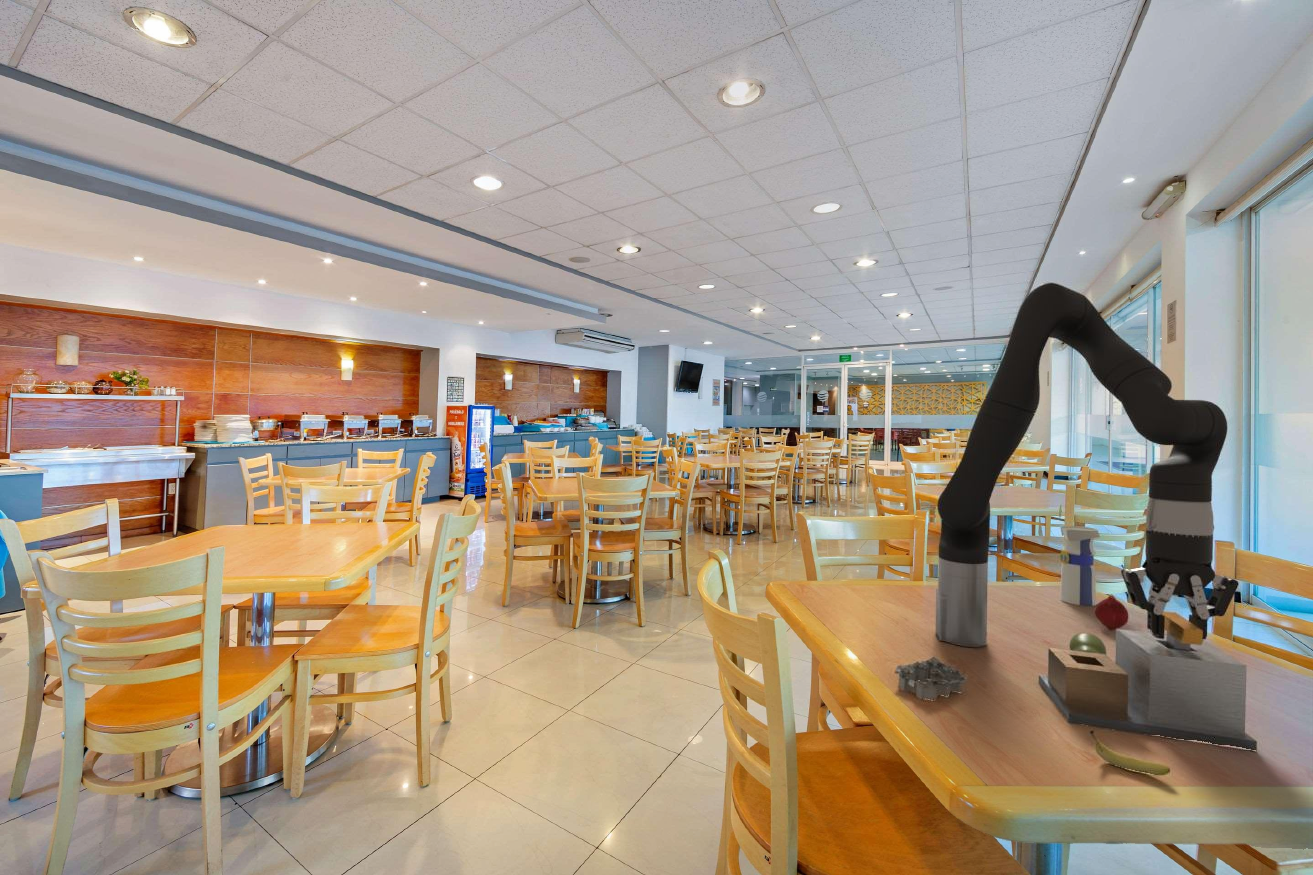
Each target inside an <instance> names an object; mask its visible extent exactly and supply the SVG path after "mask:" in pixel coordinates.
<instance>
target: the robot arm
mask: <svg viewBox="0 0 1313 875" xmlns="http://www.w3.org/2000/svg"><path fill="white" fill-rule="evenodd" d="M1049 338H1052V339H1056V340H1058V341H1059V342H1062V343H1064V344H1065V345H1067V346H1069V347H1071V348H1072V349H1073V350H1075V351H1076V352H1077V353H1079V354H1080V356H1082V357H1083V358H1084V359H1085V361H1086V363H1087V364H1088V368H1090V370H1091V373H1092V374H1093V376H1094V377H1095V378H1096V379H1097V380H1098V382H1099V383H1100V384H1101V385H1102V386H1103V387H1104V388H1105V389H1106V390H1108V392H1109V393H1110V394H1112V395H1113V397H1114V398H1116V399H1117V400H1118V401H1119V402H1120V403H1121V404H1122V407H1123V409H1124V411H1125V413H1126V415H1127V417H1128V419H1129V420H1130V422H1131V424H1132V426H1133V427H1134V429H1135V431H1136V432H1137V433H1138V434H1139V435H1140V436H1141V437H1143V438H1144V439H1146V440H1147V441H1149V442H1151V443H1153V444H1156V445H1160V446H1161V445H1162V446H1172V448H1171V450H1170V454H1169V456H1168V458H1166V459H1164V460H1161V461H1157V462H1155V463H1153V464H1152V465H1151V466H1150V469H1149V473H1148V474H1149V475H1148V497H1149V498H1148V502H1147V506H1146V513H1145V514H1146V515H1145V516H1146V517H1145V551H1144V552H1145V561H1144V562H1143V564H1142V565H1141V567H1138V568H1133V569H1129V568H1122V569H1121V570H1120V573H1121V576H1122V579H1123V582H1124V584H1125V586H1126V590H1127V592H1128V595H1129V597H1130V600H1131V602H1132V604H1134V606H1137V607H1138V608H1140V609H1141V610H1144V611H1145V610H1146V613H1147V614H1146V615H1147V619H1146V620H1147V625H1146V628H1147V630H1148V632H1150V633H1152V635H1153V636H1155V637H1156V638H1159V639H1164V634H1165V629H1164V626H1165V616H1164V615H1162V613H1163V611H1165V608H1166V607H1167V603H1170V602H1171V598H1172V596H1176V595H1183V597H1184V599H1185V600H1186V603H1187V605H1188V607H1189V612H1190V613H1191V614H1188V621H1189V622H1191V623H1192V624H1194V625H1195V626H1197V627H1198V628H1200V629H1201V630H1202V631H1203V636H1202V642H1203V640H1206V639H1207V637H1208V622H1209V621H1208V620H1209V619H1210V618H1211V617H1223V616H1225V614H1226V613H1227V610H1228V608H1229V606H1230V604H1231V601H1232V600H1233V597H1234V596H1235V593H1236V592H1237V589H1238V588H1239V587H1238V586H1239V584H1240V583H1239V581H1238V580H1236V579H1235V578H1231V577H1229V576H1226V575H1219V574H1217V573H1215V571H1214V569H1213V566H1212V564H1213V559H1214V557H1213V556H1214V553H1213V551H1214V531H1215V524H1214V513H1213V512H1214V511H1213V506H1212V498H1213V497H1212V496H1213V477H1212V476H1213V474H1214V473H1213V472H1214V470H1215V468H1216V466H1217V464H1218V461H1219V458H1220V455H1221V452H1222V450H1223V448H1224V444H1225V441H1226V438H1227V433H1228V421H1227V417H1226V415H1225V413H1224V411H1223V410H1222V408H1220V406H1219V405H1217V404H1215V403H1214V402H1211V401H1208V400H1202V399H1174V398H1173V397H1171V396H1170V395H1169V394H1170V393H1171V390H1172V387H1173V386H1172V384H1173V383H1172V381H1171V379H1170V378H1169V376H1168V375H1167V374H1166V373H1164V372H1163V371H1162V370H1161V369H1160V368H1158V366H1156V365H1155V364H1154V363H1153V362H1152V361H1150V359H1148V358H1147V357H1145V356H1144V355H1143V354H1142V353H1140V352H1139V351H1138V350H1137V349H1136V348H1135V347H1133V346H1132V345H1130V343H1128V342H1127V341H1125V340H1124V339H1123V338H1122V337H1120V335H1118V334H1117V333H1116V331H1115V330H1114V329H1112V327H1111V326H1110V325H1109V323H1107V321H1106V320H1105V318H1103V316H1102V315H1101V314H1100V313H1099V311H1098V309H1097V308H1096V307H1095V306H1094V304H1093V303H1092V302H1091V300H1090V299H1089V298H1088V297H1086V295H1084V294H1082V293H1080V292H1078V291H1076V290H1073V289H1071V288H1069V287H1066V286H1064V285H1062V284H1059V283H1055V282H1045V283H1041V284H1040V285H1038V286H1036V287H1035V288H1034V289H1032V290H1031V291H1030V292H1029V293H1028V295H1027V296H1026V297H1025V298H1024V300H1023V302H1022V303H1021V305H1020V308H1019V310H1018V313H1017V314H1016V318H1015V321H1014V324H1013V327H1012V331H1011V333H1010V336H1009V338H1008V339H1009V340H1008V342H1007V345H1006V349H1005V350H1004V351H1005V352H1004V353H1003V356H1002V359H1001V361H1000V364H999V366H998V368H997V371H996V373H995V376H994V378H993V380H992V383H991V385H990V386H989V388H988V390H987V392H986V395H985V397H984V399H983V402H982V404H981V405H980V408H979V411H977V412H978V413H977V415H976V416H975V419H974V422H973V425H972V427H971V430H970V432H969V437H968V438H967V439H968V440H967V442H966V444H965V449H964V450H963V451H964V452H963V455H962V457H961V459H960V461H959V464H958V465H957V467H956V469H955V471H954V473H953V475H952V477H951V478H950V479H949V481H948V483H947V485H946V487H945V488H944V489H943V491H942V492H941V493H940V495H939V497H938V500H937V512H938V515H939V517H940V519H941V520H940V522H941V523H940V524H941V525H940V538H939V544H938V563H937V564H938V568H937V569H938V570H937V571H938V572H937V584H938V585H937V588H935V589H936V590H935V633H936V635H937V637H938V639H939V641H940V642H946V643H948V644H953V645H957V646H962V647H969V648H970V647H971V648H979V647H984V646H985V645H987V642H988V640H987V637H988V631H987V630H988V578H989V577H988V573H989V571H988V570H989V566H988V565H989V548H990V534H991V533H990V532H991V530H990V529H991V527H990V526H991V501H990V500H991V497H992V495H993V492H994V489H995V487H996V484H997V482H998V481H997V480H998V478H999V476H1000V474H1001V472H1002V470H1003V469H1004V468H1005V466H1006V464H1007V463H1008V462H1009V460H1010V458H1011V457H1012V456H1013V454H1014V453H1015V451H1016V450H1017V448H1018V447H1019V445H1020V443H1021V441H1023V439H1024V437H1025V435H1026V433H1027V431H1028V429H1029V427H1030V425H1031V423H1032V421H1033V419H1034V417H1035V415H1036V413H1037V410H1038V406H1039V405H1040V398H1041V397H1040V395H1041V391H1040V390H1041V386H1040V362H1041V358H1042V355H1043V351H1044V350H1045V347H1046V344H1047V342H1048V340H1049ZM1145 576H1146V577H1147V579H1148V580H1149V581H1150V582H1151V585H1150V588H1149V590H1148V598H1147V597H1146V594H1145V592H1144V588H1143V585H1142V583H1143V582H1144V577H1145ZM1210 583H1211V585H1212V591H1211V593H1210V594H1209V597H1208V599H1207V597H1206V594H1205V591H1204V589H1205V588H1207V586H1208V585H1210Z"/></svg>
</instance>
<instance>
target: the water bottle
mask: <svg viewBox="0 0 1313 875" xmlns="http://www.w3.org/2000/svg"><path fill="white" fill-rule="evenodd" d="M1058 511H1059V512H1058V514H1059V515H1058V517H1059V518H1060V519H1061V518H1062V505H1060V507H1059V509H1058ZM1060 532H1061V537H1064V539H1065V540H1064V541H1065V543H1064V546H1063V547H1062V549H1061V551H1060V555H1059V559H1060V561H1061V563H1062V564H1061V571H1060V573H1061V574H1060V589H1059V600H1060V601H1062V602H1065V603H1068V604H1071V605H1076V606H1082V605H1083V607H1084V606H1085V607H1094V606H1095V607H1096V606H1097V604H1098V603H1097V590H1096V587H1097V585H1096V581H1097V580H1096V579H1097V578H1096V577H1097V576H1096V573H1097V572H1096V568H1095V565H1094V561H1095V560H1094V558H1095V557H1094V555H1096V551H1095V549H1094V547H1093V543H1094V539H1097V538H1100V531H1099V530H1098V529H1097V528H1094V527H1090V526H1089V527H1088V526H1082V525H1081V526H1080V525H1075V526H1074V525H1063V526H1060Z"/></svg>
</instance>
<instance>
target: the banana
mask: <svg viewBox="0 0 1313 875" xmlns="http://www.w3.org/2000/svg"><path fill="white" fill-rule="evenodd" d="M1088 735H1090V736H1091V738H1092V739H1093V741H1094V744H1095V746H1094V747H1095V748H1094V749H1095V752H1096V753H1097V755H1098V756H1099V757H1100V758H1102V759H1103V760H1104V761H1106V762H1107V763H1108V764H1111V765H1113V764H1114V765H1113V766H1115V765H1117V766H1120V767H1123V768H1127V769H1131V770H1135V771H1139V772H1145V773H1150V774H1154V775H1153V776H1164V775H1168V774H1170V773H1171V769H1170V767H1169V766H1167V765H1165V764H1163V763H1160V762H1156V761H1155V762H1154V761H1150V760H1149V761H1148V760H1143V759H1140V758H1139V759H1138V758H1135V757H1131V756H1128V755H1125V754H1122V753H1119V752H1116V751H1114V750H1112V749H1110V748H1108V747H1107V746H1105V744H1103V743H1101V742H1100V741H1099V740H1098V738H1097V735H1096V734H1095V729H1090V730H1088ZM1117 766H1116V767H1117ZM1120 767H1119V768H1120ZM1123 768H1122V769H1123Z"/></svg>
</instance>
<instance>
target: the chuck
mask: <svg viewBox="0 0 1313 875" xmlns="http://www.w3.org/2000/svg"><path fill="white" fill-rule="evenodd" d="M1166 639H1167V633H1164V639H1159V638H1156V637H1155V636H1153V635H1152V633H1151V632H1150V631H1140V630H1132V629H1131V630H1130V629H1129V630H1128V629H1120V628H1117V629H1115V661H1114V660H1113V659H1111V657H1109V656H1108V655H1107V654H1106V655H1105V654H1099V653H1090V652H1082V651H1073V650H1070V649H1063V648H1056V647H1048V660H1047V661H1048V662H1047V663H1048V664H1047V666H1048V667H1047V669H1048V670H1047V674H1038V684H1039V685H1040V687H1041V688H1042V690H1043V691H1044V692H1045V693H1046V695H1047V696H1048V697H1049V699H1050V700H1051V701H1052V703H1053V704H1054V705H1055V707H1056V708H1057V709H1058V711H1059V710H1060V711H1059V712H1060V713H1061V715H1062V714H1063V715H1062V716H1063V718H1064V719H1065V720H1066V721H1067V722H1068V723H1069V722H1070V723H1069V724H1073V723H1074V724H1075V725H1080V724H1084V725H1083V726H1086V725H1088V727H1093V728H1099V729H1105V730H1112V729H1114V730H1113V731H1119V732H1124V733H1125V732H1127V733H1132V734H1138V735H1144V734H1146V735H1145V736H1150V735H1160V736H1164V737H1171V738H1176V739H1184V740H1197V741H1202V742H1203V741H1204V742H1208V743H1209V742H1210V743H1212V744H1218V745H1230V746H1236V747H1242V748H1246V749H1251V750H1256V751H1257V750H1258V745H1257V744H1258V741H1257V740H1256V739H1254V737H1252V736H1251V735H1249V734H1248V733H1247V732H1246V708H1247V707H1246V705H1247V704H1246V703H1247V702H1246V701H1247V698H1246V697H1247V669H1248V668H1247V665H1246V664H1245V663H1244V662H1242V661H1240V660H1238V659H1236V658H1235V657H1233V656H1231V655H1230V654H1228V653H1226V652H1225V651H1223V650H1221V649H1219V648H1218V647H1216V646H1215V645H1212V644H1211V643H1209V642H1208V641H1206V640H1205V639H1203V642H1202V645H1195V644H1190V651H1186V650H1177V649H1168V648H1166ZM1074 724H1073V725H1074ZM1176 739H1175V740H1176ZM1257 752H1258V751H1257Z"/></svg>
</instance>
